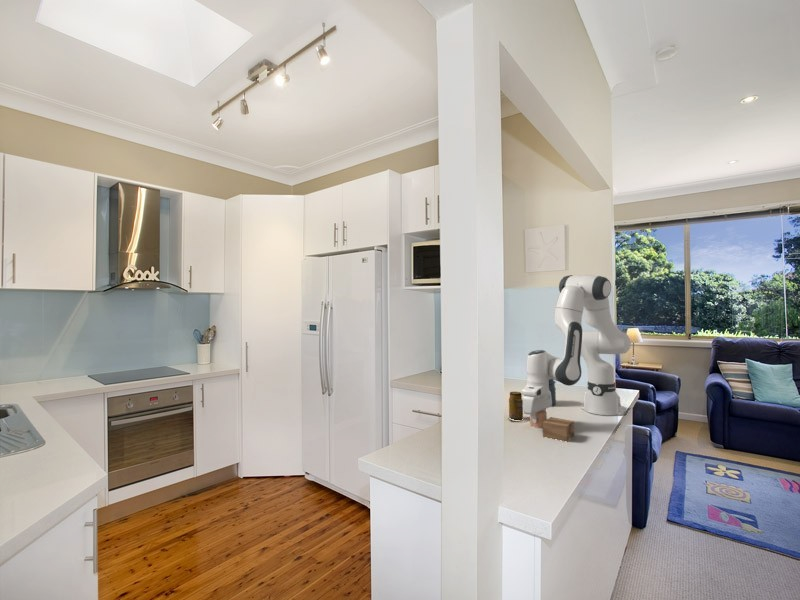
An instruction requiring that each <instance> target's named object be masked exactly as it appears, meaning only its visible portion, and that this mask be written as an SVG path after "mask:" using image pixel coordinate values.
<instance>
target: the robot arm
mask: <svg viewBox="0 0 800 600" xmlns="http://www.w3.org/2000/svg"><path fill="white" fill-rule="evenodd" d="M558 291H559V297H558V299H557V302H556V306H555V309H554V317H553V318H554V323H555V325H556V327H557V328H558V329H559V330H560V331H561V332H562V333H563V335H564V338H565V343H564V350H563V351H564V353H563V358H560V357H557V356H554V355H552V354H550V353H548V352H547V351H546V350H544V349H540V350H539V349H537V350H531V351H530V352H529V353H528V354H527V358H526V373H527V377H526V384H525V386H524V387H523V388H522V389H521V393H522V395H523V396H522V395H521V396H522V400H523V414H524V415H525V414H526V415H529V416H530V415H531V417H532V422H533V423H537V422H538V418H537V417H536V415H537V412H539V411H546V412H547V409H548V408H551V407H552V406H551V405H552V397H551V391H550V390H549V379H553V380H554V381H555V382H559V383H561V384H562V385H564V386H570V387H571V386H573V385H575V384H577V383H578V382H579V381H580V380H581V377H582V366H581V357H582V358H583V360H584V362H585V364H586V367H587V377H588V379H587V380H588V381H587V383H586V384H587V385H586V387H587V390H586V391H585V392H584V405H582V406H581V410H584V411H585V412H587V413H589V414H593V415H601V416H624V415H625V412H626V409H627V408H626V406H624V405H621V397H620V396H619V394H618V392H617V389H616V388H617V382H615V376H614V375H615V374H614V373H615V372H614V367H613V365H612V364H611V363H610V362H607V361H605V360H603V359H602V358H601V357H600V355H621V354H626V353H628V352H629V351H630V349H631V346H632V345H631V344H632V341H631V339H630V337H629V335H628V334H627V333H625V332H623V331H622V330H620V329H619V328H618V327H617V326H616V324H615V323H614V322H613V318H612V315H611V309H610V300H609V296H610V294H611V292H612V284H611V281H610V280H609V279H608V278H607V277H606V276H601V275H589V274H583V275H576V274H575V275H572V274H571V275H566V276H563V277H562V278H561V279H560V281H559V284H558ZM583 316H584V321H585V323H586V324H587V325H588V326H590V327H591V328H595V330H583V327H582V326H583V325H582V319H583Z"/></svg>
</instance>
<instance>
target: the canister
mask: <svg viewBox="0 0 800 600" xmlns="http://www.w3.org/2000/svg"><path fill="white" fill-rule="evenodd" d="M556 383H557V381H556V380H553V379H549V390H550V391H551V397H552V405H551V407H554V406H556V405H557V399H556V398H557V396H556V393H557V392H556V390H557V389H556Z"/></svg>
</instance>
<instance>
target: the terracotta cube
mask: <svg viewBox="0 0 800 600" xmlns="http://www.w3.org/2000/svg"><path fill="white" fill-rule="evenodd" d="M529 417H530V418H529V419H530V420H529V423H530V424H529V425H530V427H533V426H534V427H533V428H538V427H539V428H538V429H543V422H544V421H545V420H547V419H548V418H547V417H548V414H547V410H546V411H539V412H537V415H536V417H537V418H538V422H537V423H533V422H532V417H531V415H530V414H529Z"/></svg>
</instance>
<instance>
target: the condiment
mask: <svg viewBox="0 0 800 600" xmlns="http://www.w3.org/2000/svg"><path fill="white" fill-rule="evenodd" d="M508 413H509V415H508V416H509V418H511V419H514V420H522V419H523V418H524V411H523V396H522V391H510V392H509V399H508ZM522 422H527V420H526V419H525V418H524V419H523V420H522V421H520V422H519V423H522Z"/></svg>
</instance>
